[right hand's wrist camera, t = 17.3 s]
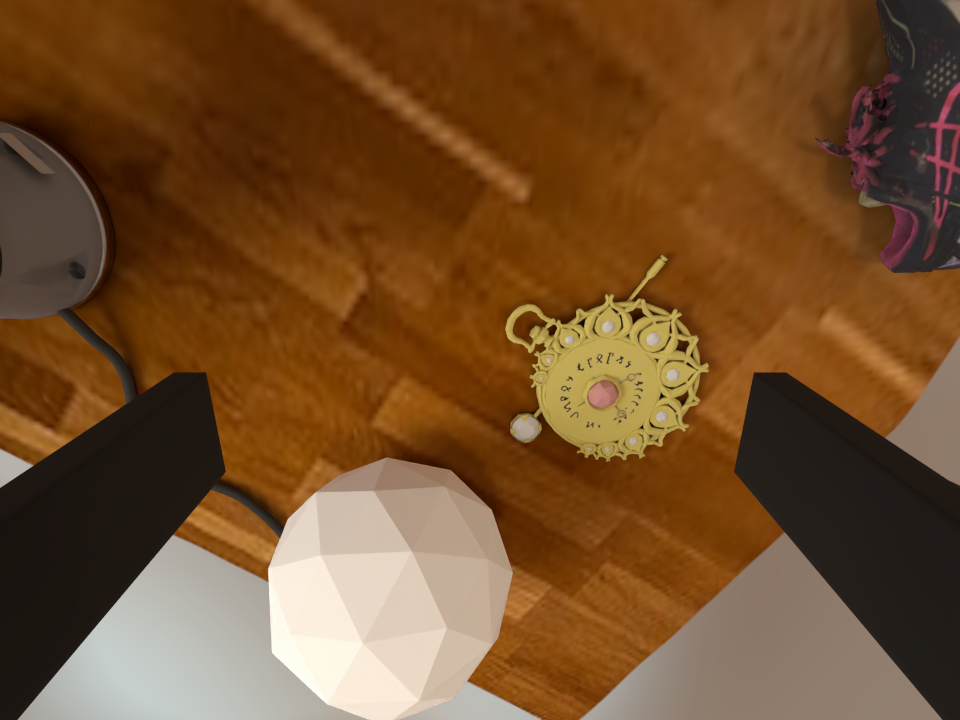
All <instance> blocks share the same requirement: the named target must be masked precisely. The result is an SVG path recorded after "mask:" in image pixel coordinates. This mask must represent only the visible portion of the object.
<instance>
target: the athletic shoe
mask: <svg viewBox="0 0 960 720" xmlns="http://www.w3.org/2000/svg"><path fill="white" fill-rule="evenodd" d="M876 4H877V8H878V13H879V18H880V23H881V29H882V33H883V36H884V39H885V46H886V47H885V54H886V55H887V57H888V58H889V71H890V73H888V74H886V75H885V76H884V78H883V80H882V82H881V83H880V84H879V86H878V87H876V88H875V89H874V90H873V92H876V93H875V94H874V96H873V98H872V91H868V90H869V88H870V87H871V86H872V85H869V86H863V87H861V89H860V90H859V92H858V93H857V94H856V96H855V97H854V99H853V103H852V109H851V115H850V124H849V128H847V129H846V131H845V137H846V138H848V140H847V143H846V144H845V146H844V147H842V146H836V144H834V143H833V142H829V141H828V139H827V140H825V141H820V140H819V139H817V138H815V139H816V141H817V142H818V144H819V146H820V147H821V148H822V149H824V150H825V151H827V152H828V153H829V154H832V155H835V156H839V157H850V158H851V159H852V160H853V161H854V162H852V163H851V169H852V170H853V171H852V172H851V176H852V175H853V174H854V175H853V177H852V179H851V181H850V182H851V185H852V188H855V189H858V190H861V193H860V197H859V201H858V203H859V204H861V205H863V206H866V207H876V206H884V205H889V206H892V209H893V213H894V216H895V220H896V223H895V227H894V230H893V234H892V238H891V240H890V241H889V243H888V244H887V245H886V247H885V248H884V249H883V250H882V252H881V253H880V256H881V261H882V263H883V264H884V265H885V266H886V267H887V268H888V269H890V270H891V271H892V272H894V273H914V272H925V271H926V272H931V271H933V270H944V269H956V268H960V0H876ZM878 98H879V99H878Z"/></svg>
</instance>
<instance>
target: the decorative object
mask: <svg viewBox="0 0 960 720" xmlns="http://www.w3.org/2000/svg"><path fill="white" fill-rule="evenodd" d="M664 261H667V258H666V257H664V256H663V255H661V259H658V260H657V261H656V262H655V263H654V265H653V266H652V267H651V268H650V269H649V271H648V272H647V275H646V278H645V279H644V280H643V281H642V283H641V284H640V285H639V286H638V288H637V289H636V290H635V291H634V292H633V294H632V295H631V296H630V297H629V299H628V300H627V301H625V302H615V303H614V302H613V300H612V299H613V297H614V295H613V294H611V295H610V297H609V295H607V294H606V295H605V298H606V302H605V304H604V305H602V306H598V307H595V308H593V309H591V310H588V311H586V312H584V311H583V310H582V309H578V310H577V311H576V318H574V319H573V320H572V321H570V322H569V323H567V324H561V322H560V320H558V322H555V321H556V320H555V319H554V318H551V319H550V318H548V317H546V316H544V315H543V313H542V311H541V309H540V308H538V307H537V306H536V305H533V304H527V305H523V306H520V307H518V308H517V309H516V310H515V311H513V313H512V314H511V316H510V317H509V318H508V320H507V324H506V334H507V337H508V338H509V340H511V341H512V342H514V343H518V344H523V345H524V346H525V347H526V348H528V352H529V353H531V352H532V351H533V350H534V347H535V344H536V343H537V344H541V343H545V347H546V350H544V351H543V352H541V353H539V352H538V351H536V353H535V356H538V363H537V364H532V365H533V367H534V368H535V369H536V371H537V372H536V373H535V374H534V375H531V376H530V378H533V380H534V383H533V385H531V387H534V386H535V384H536V394H537V398H538V402H539V407H540V408H539V409H538V410H537V412H536V413H535V414H534V415H533V414H530V413H524V414H518V415H517V416H516V417H515V418H514V419H513V420H512V421H511V425H510V430H511V434H512V436H513V437H514V438H515V439H517V440H519V441H521V442H524V443H525V442H531V441H532V440H534V439H535V438H536V437H537V436H538V435H539V433H540V432H541V430H542V428H541V424H540V422H539V420H538V419H537V416H538V415H539V414H540V412H541V411H542V413H543V415H544V417H545V419H546V421H547V422H548V423H549V425H550V426H551V427H552V428H553V429H554V431H555V432H556V433H557V434H559V435H560V436H561V437H562V438H563V439H565V440H566V441H568V442H569V443H571V444H573V445H575V446H577V447H580V449H581V450H579V451H577V454H578V453H580V452H583V453H584V454H585V456H584V457H587V458H588V455H591V454H593V455H594V456H595V459H596V460H598V458H599V457H600V456H602V457H604V458H606V461H607V462H608V461H610V458H611V457H612V456H614V455H617V456H621V458H622V459H623V460H626V456H627V455H628V454H638V455H639V458H642V456H645V454H643V450H644V449H645V447H646V446H647V445H651V444H655V445H657V446H663V442H662V441H663V438H664V436H665V435H666V434H667V433H669V432H671V431H673V430H675V429H677V428H678V429H682V430H683V432H684V431H686V429H685V428H687V427H688V426H689V425H688V424H684V423H683V422H682V417H683V416H684V414H685V413H686V412H687V410H688V409H689V407H690V406H695V405H698V403H699V401H700V399H699V398H697V397H696V396H695V395H696V392H697V389H698V386H699V380H700V373H701V372H708V371H709V369H708V368H707V367H708V364H707V363H705V364H704V365H700V354H699V351H698V349H697V346H696V343H697V342H698V341H699V339H698V338H697V336H691V334H690V333H689V331H688V329H687V328H686V327H685V326H684V325H683V324H682V323H681V322H680V321H679V320H678V319H677V317H679V316H681V315H682V314H681V312H678V313H677V309H674V310H673V312H672V314H670V313H669V312H667V311H665V310H664V309H662V308H660V307H657V306H654V305H651V304H648V303H645V299H641V298H639V299H638V300H637V301H636V302H634V301H632V300H633V298H634V297H635V296H636V295H637V293H638V292H639V291H640V290H641V289H642V287H643V286H644V285H645V284H646V282H647V281H648V280H649V279H651V278H653V277H654V276H655V275H656V274H657V273H658V271H659V270H660V269H661V268H662V267H663V266H664V264H665V263H664ZM635 308H642V311H643V313H644V314H645V315H646V316H647V317H643V318H641V319H639V320H637V321H636V322H635V323H634V324H633V323H632V317H631V315H630V314H629V313H627V312H630V311H633V310H634V309H635ZM612 309H615V310H617V311H618V312H617V313H615V312H614V311H613V310H612ZM649 310H650V311H653V312H655V313H658V314H660V315H662V316H659V315H654V316H653V314H652V313H651V312H650V311H649ZM526 311H533V312H536V313H537V315H538V316H539V317H540V318H541V319H543V320H544V321H546V322H548V323H547V325H546V326H545V328H544V327H542V328H540V326H535V327H534V328H533V329H532V330H531V331H530V335H529V336H531V337H532V338H533V343H532V344H531V345H530V344H528V343H527V342H525V341H524V340H522V339H520V338H517V337H516V336H515V335H514V334H513V324H514V322H515V320H516V319H517V318H518V317H519V316H520V315H521V314H522V313H524V312H526ZM602 311H603V312H602ZM600 312H602V313H601V314H599V313H600ZM579 313H580V315H579ZM620 315H621V316H622V322H623V329H621V330H620V328H621V319H620ZM596 316H598V317H597V319H596ZM585 318H587V319H586V320H585V325H584V328H583V327H582V326H581V325H578V324H577V323H579V322H580V321H582V320H583V319H585ZM595 319H596V322H595ZM669 320H670V321H669ZM656 321H662V322H658V323H656ZM652 322H653V323H652ZM594 323H595V325H594ZM650 323H652V324H650ZM553 324H554V325H556V326H557V330H556V332H555V334H554V336H553V335H552V336H549V331H548V329H547V328H548V327H550V326H552V325H553ZM576 324H577V325H576ZM648 324H650V325H648ZM670 324H671V329H672V333H669V330H670ZM647 325H648V326H647ZM593 326H594V329H595V331H596V333H597V334H595V333H594V331H593V330H592V329H593ZM676 326H677V327H678V328H679V329H680V330H681V331H682V333H683V334H684V335H682V334H678V330H677V327H676ZM572 328H573V329H574V330H575V331H574V330H572ZM619 330H620V331H619ZM576 331H577V332H578V333H579V334H580V339H579V337H578V334H577V332H576ZM639 331H640V333H639ZM638 333H639V334H638ZM628 334H629V337H628V336H626V335H628ZM637 335H638V337H637ZM669 336H671V338H670V340H669V342H668V343H667V340H668V338H669ZM677 339H679V340H683V341H686V340H688V342H689V344H690V345H689V346H688V348H687V351H686V355H685V353H684V352H682V351H678V350H675V349H676V348H677V345H678V340H677ZM559 342H560V344H561V345H562V346H564V347H565V348H562V347H561V346H560V344H559ZM666 343H667V345H666ZM665 345H666V346H665ZM664 346H665V348H664V349H663V350H661V351H659V352H655V351H658V350H660V349H662V348H663V347H664ZM553 348H554V350H553ZM691 352H692V353H693V358H692V357H690V355H691ZM558 353H559V354H558ZM553 354H554V355H555V356H554V355H553ZM655 358H656V359H659V360H658V362H657V361H656V359H655ZM693 359H694V360H693ZM669 360H671V361H669ZM677 360H684V362H683V361H677ZM667 361H668V362H667ZM687 362H689V363H690V364H691V365H692V366H693V367H694V368H693V367H691V366H689V365H687V364H686V363H687ZM545 365H546V366H545ZM538 366H539V369H538V368H537V367H538ZM693 373H694V374H693ZM692 374H693V375H692ZM691 375H692V377H691V378H690V380H689V381H688V379H689V377H690V376H691ZM684 382H686V383H685V384H683V385H681V384H682V383H684ZM663 384H664V385H666V386H668V387H676V388H673V389H669V388H667V387H665V386H664V385H663ZM679 385H681V386H679ZM677 386H678V387H677ZM687 390H688V393H689V396H688V398H687V400H686V402H685V403H684V405H683V406H682V407H681V403H680V402H679V401H678V400H677V399H675V397H678V396H680V395H683V394H684V393H685V392H687ZM661 393H662V394H663V395H664V396H665V397H662V398H661V399H659V398H660V394H661ZM693 400H695V402H692V401H693ZM696 401H697V402H696ZM667 404H669V405H670V406H672V407H673V408H674V409H675V410H676V412H675V411H674V410H673V409H672V408H670V407H669V406H668V405H667ZM649 421H650V422H651V423H652V424H653V425H654V426H656V427H660V428H663V429H659V428H654V427H651V425H650V423H649ZM678 423H679V424H680V425H679V424H678ZM642 425H643V428H644V429H640V427H641V426H642ZM640 434H641V435H642V436H643V440H642V436H641V435H640ZM649 435H652V436H649ZM658 438H659V443H658V442H656V441H655V440H656V439H658ZM617 440H618V443H616V442H614V441H617ZM623 443H625V445H624V444H623ZM597 444H599V445H597ZM596 445H597V446H596ZM613 446H614V447H613ZM641 447H642V448H641ZM640 448H641V450H640ZM632 450H635V451H632ZM594 452H597V453H598V455H597V457H596V453H594ZM602 452H603V453H602ZM618 452H623V453H624V454H623V455H622V454H621V453H618ZM611 453H612V454H611ZM604 454H605V455H604Z"/></svg>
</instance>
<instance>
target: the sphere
mask: <svg viewBox="0 0 960 720" xmlns="http://www.w3.org/2000/svg"><path fill="white" fill-rule="evenodd" d="M268 573H269V595H270V617H271V641H272V653H273V654H274V655H275V656H276V657H277V658H278V659H279V660H280V661H281V662H282V663H283V664H284V665H286V666H287V667H288V668H289V669H290V670H291V671H292V672H293V673H294V674H295V675H296V676H297V677H298V678H299V679H301V680H302V681H303V682H304V683H305V684H306V685H307V686H308V687H309V688H310V689H311V690H312V691H313V692H314V693H315V694H317V695H318V696H319V697H320V698H321V699H322V700H323V701H324V702H325V703H326V704H328V705H331V706H334V707H336V708H339V709H342V710H344V711H347V712H350V713H352V714H355V715H358V716H360V717H363V718H366V719H368V720H399V719H402V718H405V717H407V716H410V715H412V714H415V713H417V712H420V711H422V710H425V709H428V708H430V707H433V706H435V705H438V704H440V703H443V702H445V701H448V700H450V699H453V698H455V697H456V695H457V694H458V693H459V691H460V690H461V688H462V687H463V686H464V684H465V683H466V681H467V680H468V679H469V677H470V676H471V674H472V673H473V672H474V670H475V669H476V667H477V666H478V665H479V663H480V662H481V660H482V659H483V658H484V656H485V655H486V653H487V652H488V651H489V649H490V648H491V647H492V645H493V644H494V642H495V641H496V640H497V638H498V635H499V631H500V626H501V622H502V618H503V613H504V609H505V605H506V601H507V596H508V592H509V588H510V583H511V579H512V575H513V572H512V569H511V566H510V563H509V560H508V557H507V554H506V551H505V548H504V545H503V542H502V539H501V536H500V533H499V530H498V527H497V524H496V521H495V518H494V515H493V512H492V510H491V509H490V508H489V507H488V506H487V505H486V504H485V503H484V502H483V501H482V500H481V499H480V498H479V497H478V496H477V495H476V494H475V493H474V492H473V491H472V490H471V489H470V488H469V487H467V486H466V485H465V484H464V483H463V482H462V481H461V480H460V479H459V478H458V477H457V476H456V475H455V474H454V473H453V472H452V471H451V470H448V469H442V468H437V467H432V466H427V465H422V464H417V463H412V462H407V461H402V460H397V459H392V458H384V459H381V460H379V461H376V462H373V463H371V464H368V465H365V466H362V467H360V468H357V469H354V470H352V471H349V472H346V473H343V474H341V475H339V476H337V477H336V478H334V479H333V480H332V481H330V482H329V483H328V484H326V485H325V486H324V487H322V488H321V489H319V490H318V491H317V492H315V493H314V494H313V495H312V496H311V497H310V498H309V499H308V500H307V501H306V502H305V503H304V504H303V505H302V506H301V507H300V508H299V509H298V510H297V511H296V512H295V513H294V514H293V515H292V516H291V517H290V518H288V520H287V523H286V525H285V528H284V530H283V533H282V535H281V538H280V540H279V543H278V545H277V548H276V550H275V553H274V555H273V558H272V561H271V563H270V566H269V568H268Z"/></svg>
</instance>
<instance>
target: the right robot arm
mask: <svg viewBox="0 0 960 720" xmlns="http://www.w3.org/2000/svg"><path fill="white" fill-rule="evenodd" d="M114 248H115V245H114V232H113V227H112V222H111V218H110V215H109V212H108V209H107V207H106V204H105V202H104V200H103V198H102V196H101V194H100V192H99V190H98V189H97V187H96V185H95V184H94V182H93V181H92V179H91V178H90V177H89V175H88V174H87V173H86V171H85V170H84V169H83V168H82V167H81V166H80V164H79V163H78V162H77V161H76V160H75V159H74V158H73V157H72V156H71V155H69V154H68V153H67V152H66V151H65V150H64V149H62V148H61V147H60V146H58V145H57V144H56V143H54V142H53V141H51V140H50V139H48V138H46V137H45V136H43V135H41V134H39V133H37V132H35V131H33V130H31V129H29V128H26V127H24V126H21V125H18V124H14V123H10V122H6V121H0V318H12V319H33V318H41V317H48V316H53V315H56V314H59V315H60V316H61V317H62V318H63V319H64V320H65V321H66V322H67V323H68V324H70V325H71V326H72V327H73V328H74V329H75V330H76V331H77V332H78V333H79V334H80V335H81V336H82V337H83V338H84V339H85V340H86V341H88V342H89V343H90V344H91V345H92V346H94V347H95V348H96V349H97V350H99V351H100V352H101V353H102V354H104V355H105V356H106V357H107V358H108V359H109V360H110V361H111V362H112V364H113V365H114V367H115V368H116V370H117V372H118V374H119V376H120V378H121V381H122V384H123V387H124V392H125V398H126V405H124V406H123V407H121V408H120V409H118V410H117V411H115V412H114V413H112V414H111V415H109V416H108V417H106V418H105V419H103V420H102V421H100V422H99V423H97V424H96V425H94V426H93V427H91V428H90V429H88V430H87V431H85V432H84V433H82V434H81V435H79V436H78V437H76V438H75V439H73V440H72V441H70V442H69V443H67V444H66V445H64V446H63V447H61V448H60V449H58V450H57V451H55V452H54V453H52V454H51V455H49V456H48V457H46V458H45V459H43V460H42V461H40V462H39V463H37V464H36V465H34V466H33V467H31V468H30V469H28V470H27V471H25V472H24V473H22V474H21V475H19V476H18V477H16V478H15V479H13V480H12V481H10V482H9V483H7V484H5V485H4V486H3V487H1V488H0V720H18V718H19V717H20V716H21V715H22V714H23V712H24V711H25V710H26V709H27V708H28V707H29V705H30V704H31V703H32V702H33V701H34V699H35V698H36V697H37V696H38V695H39V693H40V692H41V691H42V690H43V689H44V687H45V686H46V685H47V684H48V683H49V681H50V680H51V679H52V678H53V677H54V676H55V674H56V673H57V672H58V671H59V670H60V668H61V667H62V666H63V665H64V664H65V663H66V661H67V660H68V659H69V658H70V657H71V655H72V654H73V653H74V652H75V651H76V649H77V648H78V647H79V646H80V645H81V643H82V642H83V641H84V640H85V639H86V638H87V636H88V635H89V634H90V633H91V632H92V630H93V629H94V628H95V627H96V626H97V624H98V623H99V622H100V621H101V620H102V618H103V617H104V616H105V615H106V614H107V613H108V611H109V610H110V609H111V608H112V607H113V605H114V604H115V603H116V602H117V601H118V599H119V598H120V597H121V596H122V595H123V593H124V592H125V591H126V590H127V589H128V588H129V586H130V585H131V584H132V583H133V581H134V580H135V579H136V578H137V577H138V576H139V574H140V573H141V572H142V571H143V570H144V568H145V567H146V566H147V565H148V564H149V563H150V561H151V560H152V559H153V558H154V557H155V555H156V554H157V553H158V552H159V551H160V549H161V548H162V547H163V546H164V545H165V544H166V542H167V541H168V540H169V539H170V538H171V536H172V535H173V534H174V533H175V532H176V530H177V529H178V528H179V527H180V526H181V524H182V523H183V522H184V521H185V520H186V519H187V517H188V516H189V515H190V514H191V513H192V511H193V510H194V509H195V508H196V507H197V505H198V504H199V503H200V502H201V501H202V499H203V498H204V497H205V496H206V495H207V494H208V492H209V491H210V490H214V491H217V492H220V493H222V494H225V495H227V496H229V497H232V498H233V499H235V500H237V501H239V502H240V503H242V504H243V505H245V506H246V507H248V508H249V509H250V510H252V511H253V512H254V513H255V514H256V515H258V516H259V517H260V518H261V519H262V520H263V521H264V522H265V523H266V524H267V525H268V526H269V527H270V528H271V529H272V530H273V531H274V532H275V533H276V534H277V535H278V537H279V538H281V535H282V533H283V530H284V528H283V527H282V525H281V524H280V523H279V522H278V521H277V520H276V519H275V518H274V517H273V516H272V515H271V514H270V513H269V512H268V511H267V510H266V509H264V508H263V507H262V506H261V505H260V504H258V503H257V502H256V501H255V500H253V499H252V498H251V497H249V496H248V495H246V494H245V493H243V492H241V491H239V490H237V489H235V488H233V487H231V486H228V485H226V484H223V483H220V482H218V480H219V479H220V478H221V477H222V476H223V474H224V473H225V472H226V470H225V465H224V460H223V455H222V450H221V445H220V440H219V435H218V430H217V425H216V420H215V415H214V410H213V405H212V400H211V395H210V390H209V385H208V380H207V375H206V373H173V374H171V375H170V376H168V377H167V378H165V379H164V380H162V381H161V382H159V383H158V384H156V385H154V386H153V387H151V388H150V389H148V390H147V391H145V392H144V393H142V394H141V395H139V396H138V397H137V394H136V388H135V384H134V381H133V377H132V375H131V372H130V370H129V368H128V366H127V364H126V363H125V361H124V359H123V358H122V357H121V355H120V354H119V353H118V352H117V351H116V350H115V349H114V348H113V347H111V346H110V345H109V344H108V343H106V342H105V341H104V340H103V339H101V338H100V337H99V336H98V335H97V334H96V333H95V332H94V331H93V330H92V329H91V328H89V327H88V326H87V325H86V324H85V323H84V322H83V321H82V320H81V319H80V318H79V317H78V316H77V315H76V314H75V313H74V312H73V311H72V310H71V309H74V308H76V307H79V306H81V305H82V304H84V303H86V302H87V301H89V300H90V299H91V298H93V297H94V296H95V295H96V294H97V293H98V292H99V290H100V289H101V288H102V286H103V285H104V283H105V282H106V280H107V278H108V276H109V273H110V271H111V267H112V264H113V258H114ZM734 472H735V473H736V474H737V476H738V477H739V478H740V479H741V480H742V482H743V483H744V484H745V485H746V486H747V488H748V489H749V490H750V491H751V492H752V494H753V495H754V496H755V497H756V498H757V499H758V501H759V502H760V503H761V504H762V505H763V507H764V508H765V509H766V510H767V511H768V513H769V514H770V515H771V516H772V517H773V519H774V520H775V521H776V522H777V523H778V524H779V526H780V527H781V528H782V529H783V530H784V532H785V533H786V534H787V535H788V536H789V538H790V539H791V540H792V541H793V542H794V543H795V545H796V546H797V547H798V548H799V549H800V551H801V552H802V553H803V554H804V555H805V557H806V558H807V559H808V560H809V561H810V563H811V564H812V565H813V566H814V567H815V568H816V570H817V571H818V572H819V573H820V574H821V576H822V577H823V578H824V579H825V580H826V582H827V583H828V584H829V585H830V586H831V588H832V589H833V590H834V591H835V592H836V593H837V595H838V596H839V597H840V598H841V599H842V601H843V602H844V603H845V604H846V605H847V607H848V608H849V609H850V610H851V611H852V613H853V614H854V615H855V616H856V617H857V618H858V620H859V621H860V622H861V623H862V624H863V626H864V627H865V628H866V629H867V630H868V631H869V633H870V634H871V635H872V636H873V637H874V639H875V640H876V641H877V642H878V643H879V645H880V646H881V647H882V648H883V649H884V651H885V652H886V653H887V654H888V655H889V656H890V658H891V659H892V660H893V661H894V663H895V664H896V665H897V666H898V667H899V668H900V670H901V671H902V672H903V673H904V674H905V676H906V677H907V678H908V679H909V680H910V682H911V683H912V684H913V685H914V686H915V688H916V689H917V690H918V691H919V692H920V693H921V695H922V696H923V697H924V698H925V699H926V701H927V702H928V703H929V704H930V705H931V707H932V708H933V709H934V710H935V711H936V712H937V714H938V715H939V716H940V717H941V718H942V720H960V486H959V485H957V484H955V483H953V482H951V481H948V480H947V479H945V478H944V477H942V476H941V475H939V474H938V473H936V472H935V471H933V470H932V469H930V468H929V467H927V466H926V465H924V464H923V463H921V462H920V461H918V460H917V459H915V458H914V457H912V456H911V455H909V454H908V453H906V452H905V451H903V450H902V449H900V448H899V447H897V446H896V445H894V444H893V443H891V442H890V441H888V440H887V439H885V438H884V437H882V436H881V435H879V434H878V433H876V432H875V431H873V430H872V429H870V428H869V427H867V426H866V425H864V424H863V423H861V422H860V421H858V420H857V419H855V418H854V417H852V416H851V415H849V414H848V413H846V412H845V411H843V410H842V409H840V408H839V407H837V406H836V405H834V404H833V403H831V402H830V401H828V400H827V399H825V398H824V397H822V396H821V395H819V394H818V393H816V392H815V391H813V390H812V389H810V388H809V387H807V386H806V385H804V384H802V383H801V382H799V381H798V380H796V379H795V378H793V377H792V376H790V375H789V374H787V373H754V375H753V380H752V385H751V390H750V395H749V400H748V405H747V410H746V415H745V420H744V425H743V430H742V435H741V440H740V445H739V450H738V455H737V460H736V465H735V470H734Z"/></svg>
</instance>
